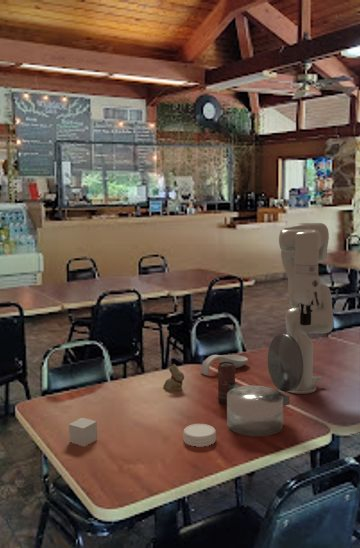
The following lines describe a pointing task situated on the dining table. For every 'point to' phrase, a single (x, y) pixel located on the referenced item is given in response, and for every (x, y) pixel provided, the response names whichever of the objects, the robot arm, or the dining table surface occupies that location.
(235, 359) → the spoon rest
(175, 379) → the chocolate bunny
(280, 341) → the lid
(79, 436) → the light grey cube
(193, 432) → the white short cylinder
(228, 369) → the can
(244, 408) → the round storage jar
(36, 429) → the dining table surface
